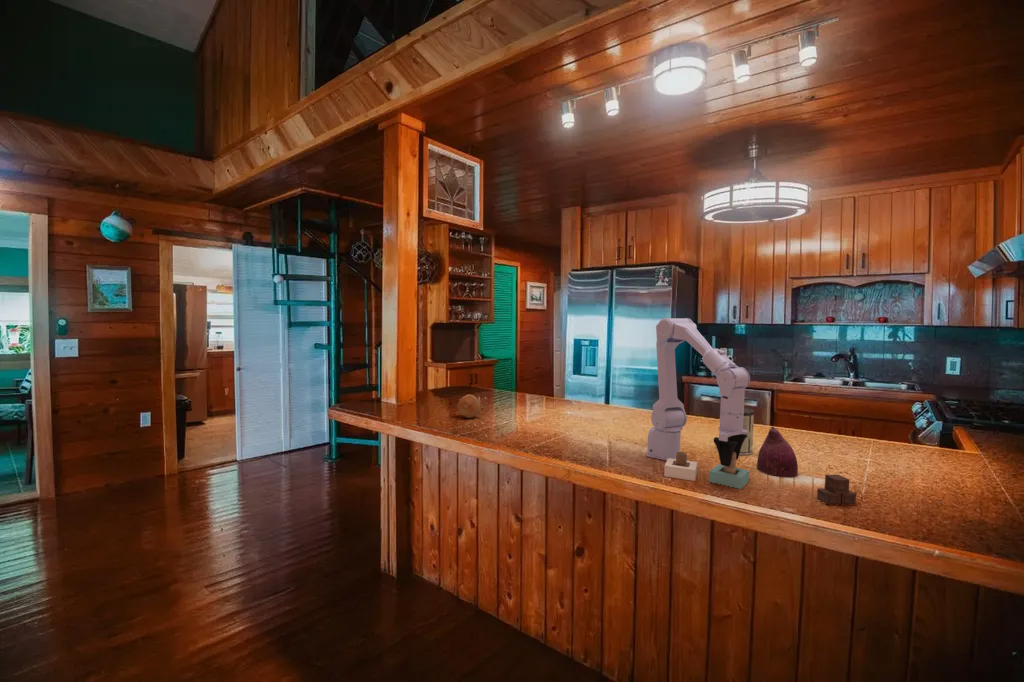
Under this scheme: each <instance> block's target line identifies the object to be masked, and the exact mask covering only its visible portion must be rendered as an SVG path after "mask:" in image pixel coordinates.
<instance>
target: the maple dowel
mask: <svg viewBox="0 0 1024 682" xmlns="http://www.w3.org/2000/svg"><path fill="white" fill-rule="evenodd" d="M736 464H737V460H736V453H735V452H733V455H732V460H731V464H730V466H729V467H728V466H724V472H726V473H730V474H735V470H736V468H737V466H736Z"/></svg>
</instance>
